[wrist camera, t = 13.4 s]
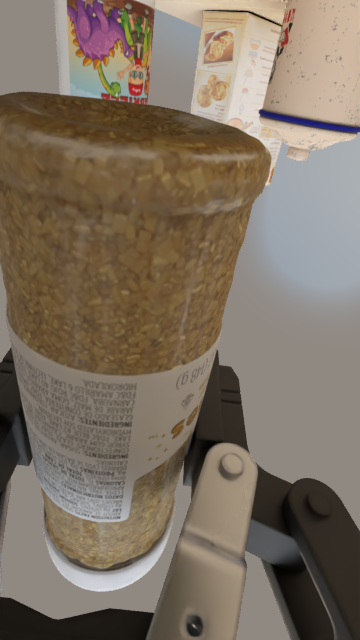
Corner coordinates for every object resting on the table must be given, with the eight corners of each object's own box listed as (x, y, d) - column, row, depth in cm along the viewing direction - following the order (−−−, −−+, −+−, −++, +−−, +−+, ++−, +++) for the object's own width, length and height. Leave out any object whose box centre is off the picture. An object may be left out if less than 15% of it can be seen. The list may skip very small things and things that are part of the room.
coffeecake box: (201, 10, 40) (178, 181, 51) (249, 10, 37) (214, 194, 48) (269, 35, 50) (237, 175, 61) (313, 38, 46) (271, 186, 57)
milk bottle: (125, -31, 30) (118, 201, 41) (34, -63, 25) (54, 205, 37) (178, -40, 25) (153, 224, 36) (78, -82, 21) (85, 232, 32)
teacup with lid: (272, -28, 24) (234, 151, 31) (411, -23, 21) (335, 176, 28) (312, 12, 33) (276, 144, 40) (414, 19, 30) (356, 162, 36)
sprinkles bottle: (279, 126, 7) (181, 482, 14) (64, 86, 7) (82, 452, 15) (281, 171, 3) (149, 616, 11) (-162, 82, 3) (18, 570, 11)
